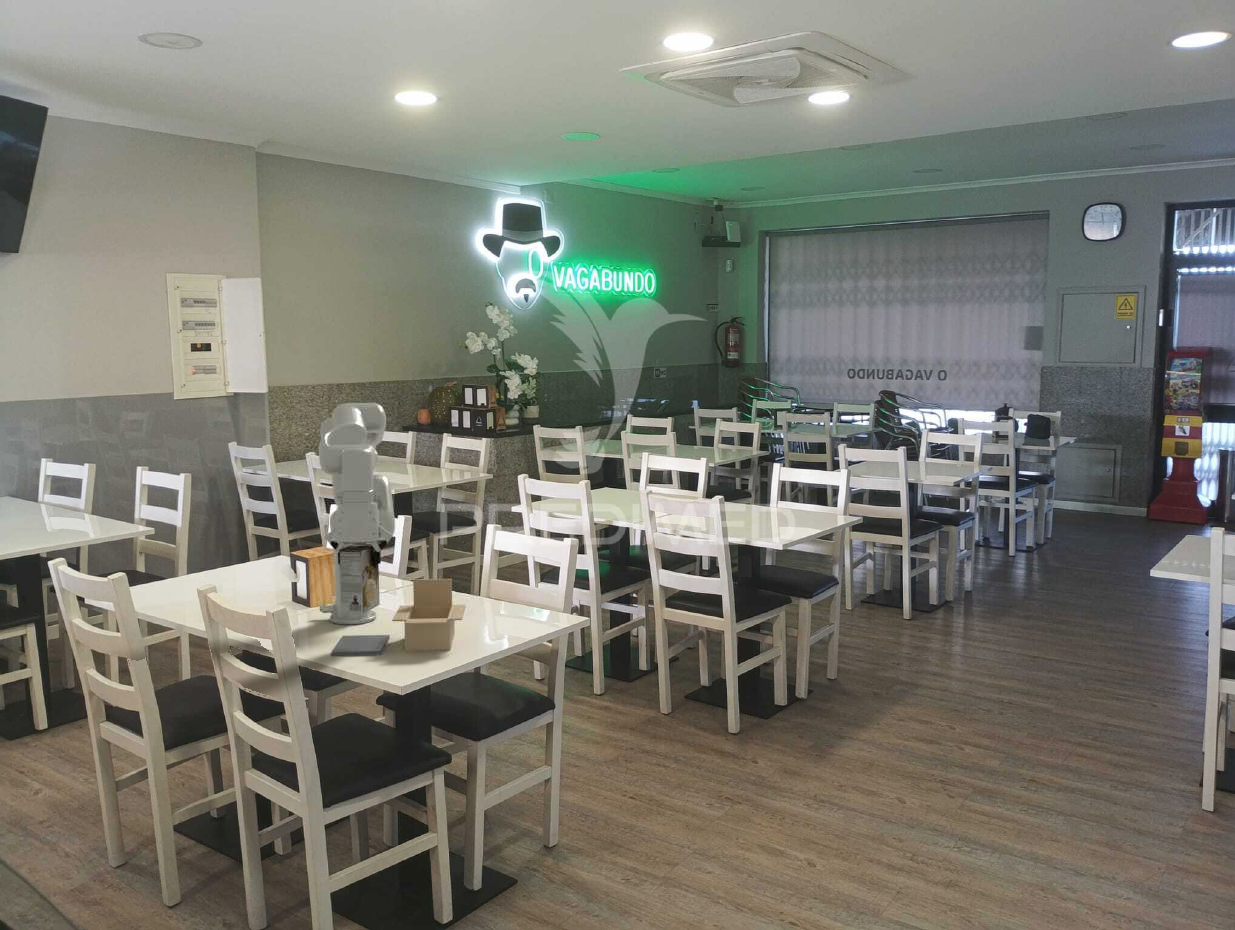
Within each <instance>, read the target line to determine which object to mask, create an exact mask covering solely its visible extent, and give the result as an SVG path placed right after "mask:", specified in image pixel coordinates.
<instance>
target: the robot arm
mask: <svg viewBox="0 0 1235 930" xmlns="http://www.w3.org/2000/svg"><path fill="white" fill-rule="evenodd" d="M386 425H387V416H386V413H385V409H384V407H383V406H382V405H380V404H379V403H376V402H367V403H366V402H347V403H341V404H339V405H337V406H336V407H335V408H334V409H333V411H332V413H331V417H329V418H326V419H325V420H324V421H322V423H321V425H320V429H319V431H320V441H319V445H318V457H319V466H320V469H321V470H322V472H323V473H325V474H327V475H331V481H332V492H333V500H334V503H335V504H336V506H337V507H338V509H336V510H334V512H332V513H331V515H330V518H329V527H330V531H329V532H328V533H327V534H325V536H324V538H325V539H326V541H327V542H328V543H329V544H330V546H331V547H332V548H333V566H334V568H333V569H334V570H333V572H334V600H335V601H334V603H331V604H328V605H327V604H320V605H319V612H320V613H321V612H322V614H327V613H328V614H331V615H329V621H330V622H331V623H333V624H338V625H358V624H359V625H360V624H364V623H365V624H366V623H369V622H371V621H374V620H375V619H377V613H376V612H375V611H374V610H372V609H371V610H369V611H367V612H366V613H364V614H358V613H342V612H341V595H340V563H339V550H340V549H342V548H345V547H348V546H350V545H353V544H355V543H364V544H372V546H373V547H374V549H375V551H374V553H373V554H374V567H375V568H377V567H378V565H380V564H381V563H382V556H381V555H382V553H381V552H382V550H383V549H384V547H385V546H387V544H388V543H389V542H390V541H391V539H392V538H393V536H394V535H395V531H396V519H395V511H394V501H393V494H392V487H391V483H390V481H389V480H390V479H388V477H386V476H385V475H383V474H374V471H375V469H376V468H377V467H378V464H379V462H378V461H379V457H378V452H377V450H376V449H375V447H374V446H376V445H379V444H380V443H382V441H383V438H384V434H385V432H386V431H385V430H386V428H387V426H386ZM380 541H381V542H380Z"/></svg>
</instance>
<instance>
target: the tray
mask: <svg viewBox="0 0 1235 930" xmlns="http://www.w3.org/2000/svg"><path fill="white" fill-rule="evenodd" d="M390 635H391V634H371V635H364V634H363V635H362V634H361V635H342V636H341V638H340V639H339V640H338V642H337V643H336V645H335V646H334V647H333V649H332V650H331V657H339V656H341V657H342V656H343V657H344V656H347V657H348V656H381V655H382V654H383V653H384V651H385V648H386V647H387V645H388V643H389V641H390V637H391V636H390Z"/></svg>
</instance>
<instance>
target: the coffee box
mask: <svg viewBox="0 0 1235 930" xmlns="http://www.w3.org/2000/svg"><path fill="white" fill-rule="evenodd" d="M374 551H375V549H374V547H373V546H372V544H371V543H355V544H353V545H350V546H348V547H345V548H342V549H340V550H339V563H340V595H341V612H342V613H358V614H364V613H366V612H367V611H369V610H371V611H372V610H373V609H374V608H376V607H378V606H380V605H381V604H380V573H379V572H380V569H379V565H380V564H379V565H378V567H377V568H375V567H374V554H373V553H374Z"/></svg>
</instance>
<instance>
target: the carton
mask: <svg viewBox="0 0 1235 930" xmlns="http://www.w3.org/2000/svg"><path fill="white" fill-rule="evenodd" d="M412 585H413V587H412V588H413V589H412V590H413V591H412V592H413V604H409V605H399V606H398V609H397V610H396V613H395V614H394V615H393V617H392V622H404V651H405V652H413V651H414V652H415V651H416V652H418V651H451V648H452V645H453V642H454V638H455V634H456V633H455V632H456V630H455V629H456V627H455V625H456V623H455V622H456V621H462V620H463V618H464V613H465V611H466V607H467V604H453V578H426V579H425V578H419V579H417V578H416V579H414V578H413V584H412Z"/></svg>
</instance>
